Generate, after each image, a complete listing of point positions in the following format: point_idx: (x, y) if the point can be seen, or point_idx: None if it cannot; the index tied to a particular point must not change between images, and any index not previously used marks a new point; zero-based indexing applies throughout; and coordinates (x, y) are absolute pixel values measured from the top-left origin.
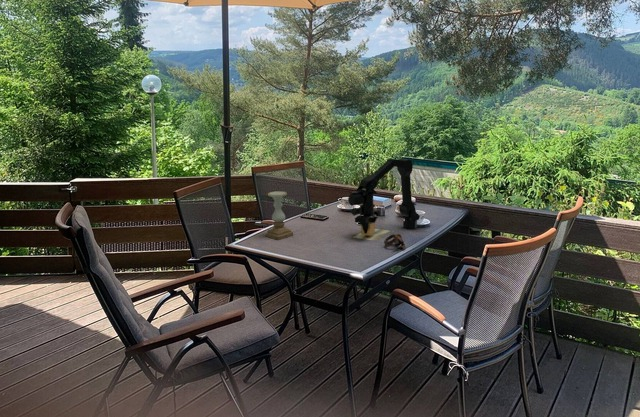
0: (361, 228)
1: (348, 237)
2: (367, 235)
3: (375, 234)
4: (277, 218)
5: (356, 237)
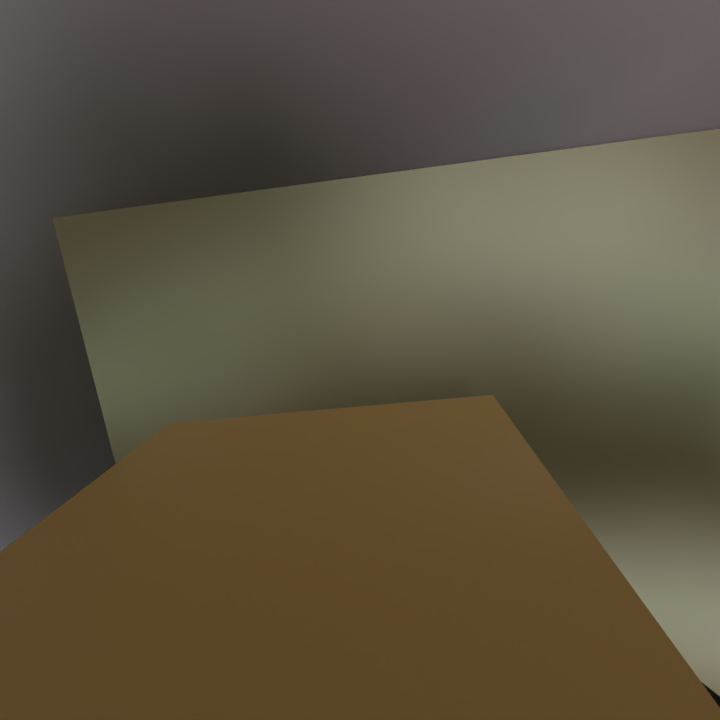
0: (26, 566)
1: (143, 17)
2: None
3: None
4: None
5: (116, 310)
